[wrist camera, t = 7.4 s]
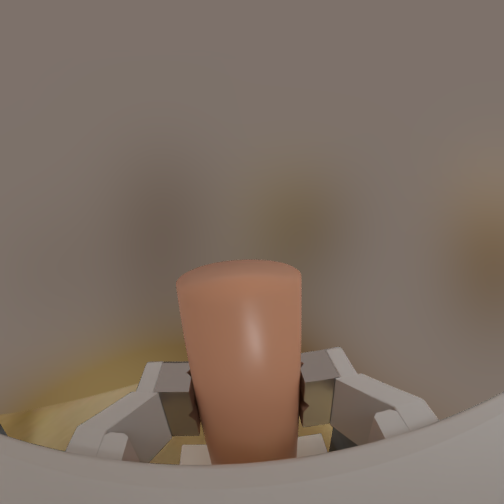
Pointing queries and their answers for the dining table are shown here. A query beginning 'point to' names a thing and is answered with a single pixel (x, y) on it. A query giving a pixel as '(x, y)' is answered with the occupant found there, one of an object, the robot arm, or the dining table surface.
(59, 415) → the dining table surface
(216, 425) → the peach cylinder post
